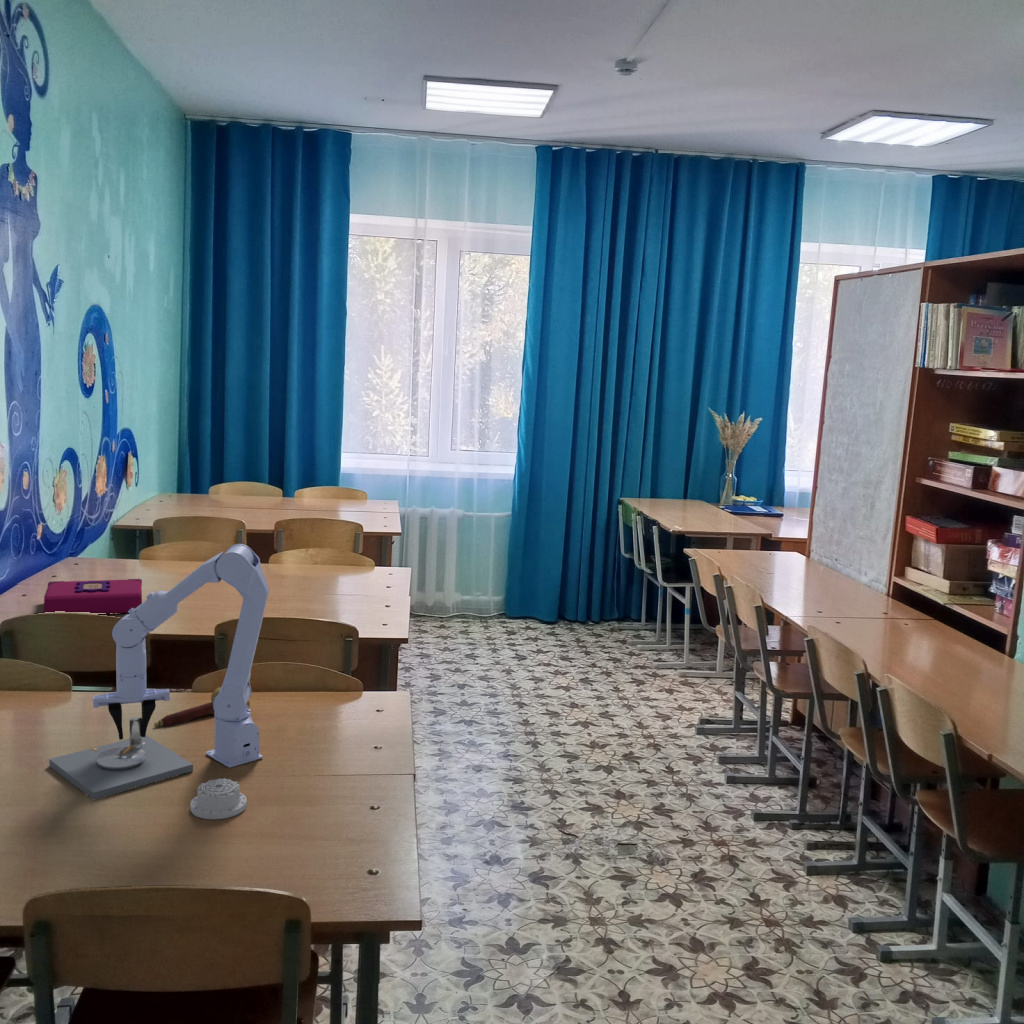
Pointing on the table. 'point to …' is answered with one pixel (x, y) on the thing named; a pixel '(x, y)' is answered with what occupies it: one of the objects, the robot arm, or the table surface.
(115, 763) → the dial
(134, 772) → the dial plate
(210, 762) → the table surface
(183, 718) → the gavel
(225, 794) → the mechanical component
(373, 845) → the table surface
